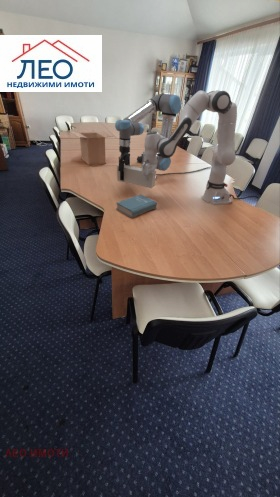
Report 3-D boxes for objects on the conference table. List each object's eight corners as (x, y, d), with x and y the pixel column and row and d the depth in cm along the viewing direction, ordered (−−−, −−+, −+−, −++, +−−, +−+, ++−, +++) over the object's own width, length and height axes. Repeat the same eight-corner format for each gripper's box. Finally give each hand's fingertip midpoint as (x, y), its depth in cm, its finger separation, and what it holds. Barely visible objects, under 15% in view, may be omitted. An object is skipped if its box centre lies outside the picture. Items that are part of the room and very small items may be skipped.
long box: (117, 180, 166) (117, 166, 160) (121, 178, 171) (121, 164, 165) (151, 188, 158) (152, 173, 152) (154, 185, 163) (156, 170, 156)
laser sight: (156, 165, 238) (157, 155, 232) (135, 163, 241) (136, 153, 235) (157, 163, 245) (158, 153, 240) (137, 160, 248) (138, 151, 242)
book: (140, 200, 162) (140, 194, 160) (156, 208, 154) (157, 202, 151) (116, 209, 149) (116, 202, 146) (132, 218, 140) (132, 211, 137)
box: (116, 165, 229) (116, 136, 213) (83, 168, 214) (80, 137, 198) (102, 154, 259) (101, 128, 243) (71, 156, 244) (68, 129, 228)
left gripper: (123, 149, 145) (122, 183, 158) (135, 144, 159) (134, 176, 173) (113, 147, 147) (113, 181, 160) (126, 142, 161) (125, 174, 175)
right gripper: (148, 162, 141) (146, 183, 150) (159, 155, 157) (157, 175, 165) (139, 161, 143) (138, 181, 152) (151, 154, 159) (149, 173, 167)
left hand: (124, 178), depth 167 cm, fingers closed on long box, 6 cm apart
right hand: (148, 178), depth 158 cm, fingers closed on long box, 6 cm apart
